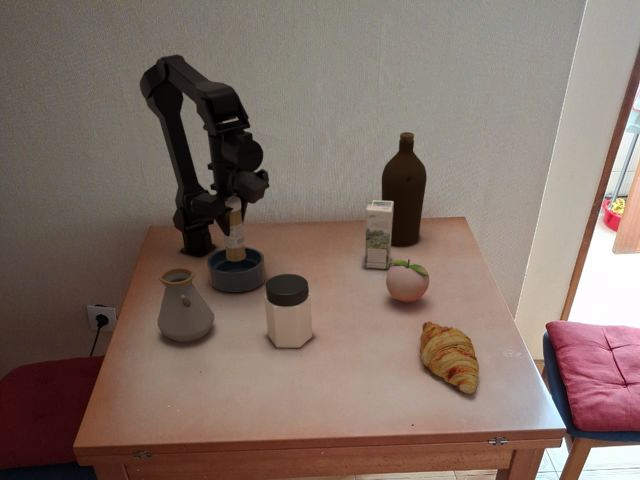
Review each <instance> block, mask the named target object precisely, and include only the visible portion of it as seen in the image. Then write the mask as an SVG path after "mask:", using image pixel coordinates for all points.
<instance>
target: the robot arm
mask: <svg viewBox="0 0 640 480" xmlns="http://www.w3.org/2000/svg"><path fill="white" fill-rule="evenodd" d="M139 91H140V93H141V95H142V97H143V98H144V100H145V102H146V106H147V107H148V108H149V110H150V111H151V112H152V113H153V115H154V116H156V117H157V118H158V121H159V124H160V128H161V131H162V135H163V138H164V142H165V145H166V149H167V153H168V155H169V160H170V162H171V167H172V169H173V174H174V176H175V181H176V183H177V190H176V195H175V199H174V202H175V206H176V209H175V212H174V214H173V216H172V223H173V225H174V228H175V229H176V230H178V231H179V232H180V233H181V235H182V241H183V247H182V248H181V249H180V252H181V253H184V254H188V255H192V256H195V257H199V258H201V257H204V256H205V255H206V254H207V253H209V252H211V251H212V250H214V249H215V248H216V247H217V246H216V244H214V243H213V239H212V232H211V231H210V227H209V226H211V225H215V222H216V224H217V226H218V227H219V229H220V230H221V232H222V234H223V233H224V234H223V236H224V235H225V236H230V219H229V214H230V212H231V211H232V210H233V209H234V208H231V207H229V206H228V199H229V198H231V197H233V196H237V197H239V198H240V200H241V217H242V222H243V224H244V222H245V217H246V213H247V209H248V204H252V205H254V204H256V203H257V202H258V201H260V200H263V199H264V197H265V193H266V190H267V189H269V188H270V176H269V171H268V170H266V169H264V168H261V169H259V168H260V167H261V165H262V163H263V161H264V150H263V147H262V146H261V144H260V143H259V142H258V141H256V140H255V139H254V136H253V135H254V134H253V133H252V132H251V131H246V130H249V129H251V124H250V122H249V118H250V116H249V115H248V113H247V111H246V109H245V107H244V105H243V103H242V101H241V99H240V96H239V94H238V93H237V92H236V89H234V87H232V86H231V85H229V84H227V83H224V82H219V81H212V80H209V78H207V77H206V76H205V75H203V74H202V73H201V72H199V71H198V70H197V68H194V67H193V66H192V65H191V64H189V62H187V61H186V60H185V57H184V56H183V55H181V54H177V53H176V54H171V55H165V56H161V57H160V58H158V59H157V60H156V62H155V64H153V65H152V66H151V67H149V68H148V69H146V71H144V72H143V74H142V76H141V77H140V81H139ZM184 96H187V97H188V99H190V100H191V101H192V102H193V103H194V104H195V108H196V114H197V115H198V116H199V117H200V119H201V121H202V122H203V126H202V129H203V130H204V131H205V132H207V133H206V134H207V140H208V147H209V155H210V162H209V163H207V164H206V166H207V170H209V171H212V178H213V182H212V183H211V184H209V186H210V191H215V193H214V194H211V193H210V191H209V190H208V189H207V188H205V187H203V186H202V184H201V183H200V182H199V179H198V175H197V172H196V168H195V164H194V161H193V157H192V153H191V149H190V145H189V142H188V138H187V134H186V131H185V127H184V124H183V123H184V122H183V119H182V115H181V112H182V108H183V104H184V99H185V97H184ZM258 169H259V170H258ZM257 170H258V171H257Z"/></svg>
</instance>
